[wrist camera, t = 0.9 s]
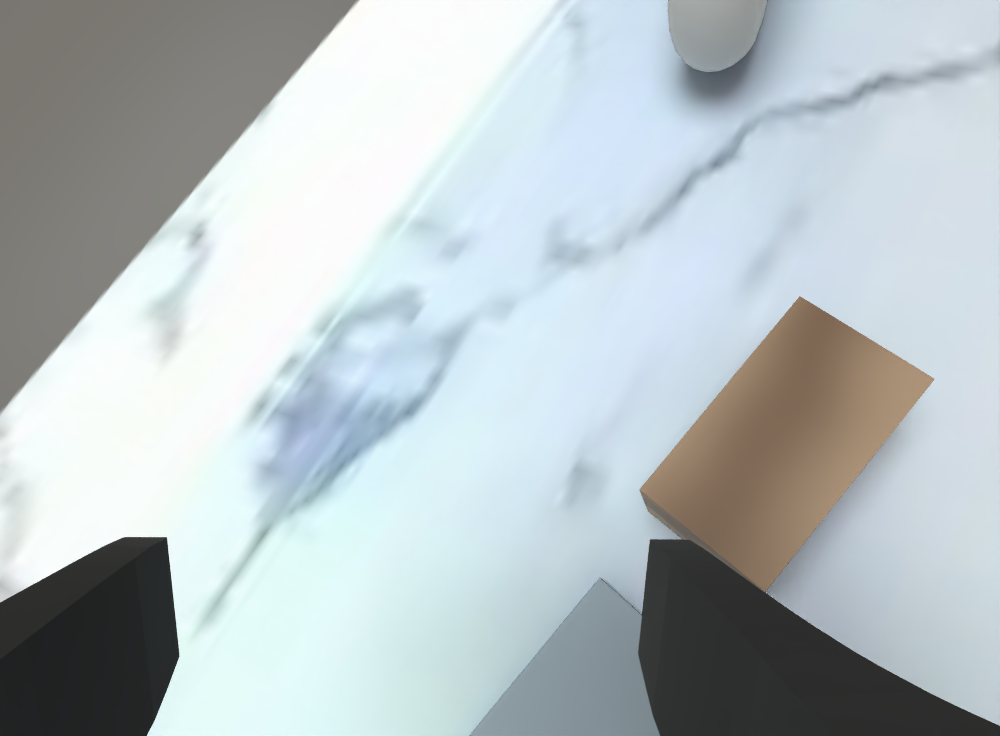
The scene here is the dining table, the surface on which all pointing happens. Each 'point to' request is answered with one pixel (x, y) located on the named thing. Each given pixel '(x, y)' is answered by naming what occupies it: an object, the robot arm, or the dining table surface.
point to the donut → (714, 30)
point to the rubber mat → (581, 678)
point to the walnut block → (782, 442)
